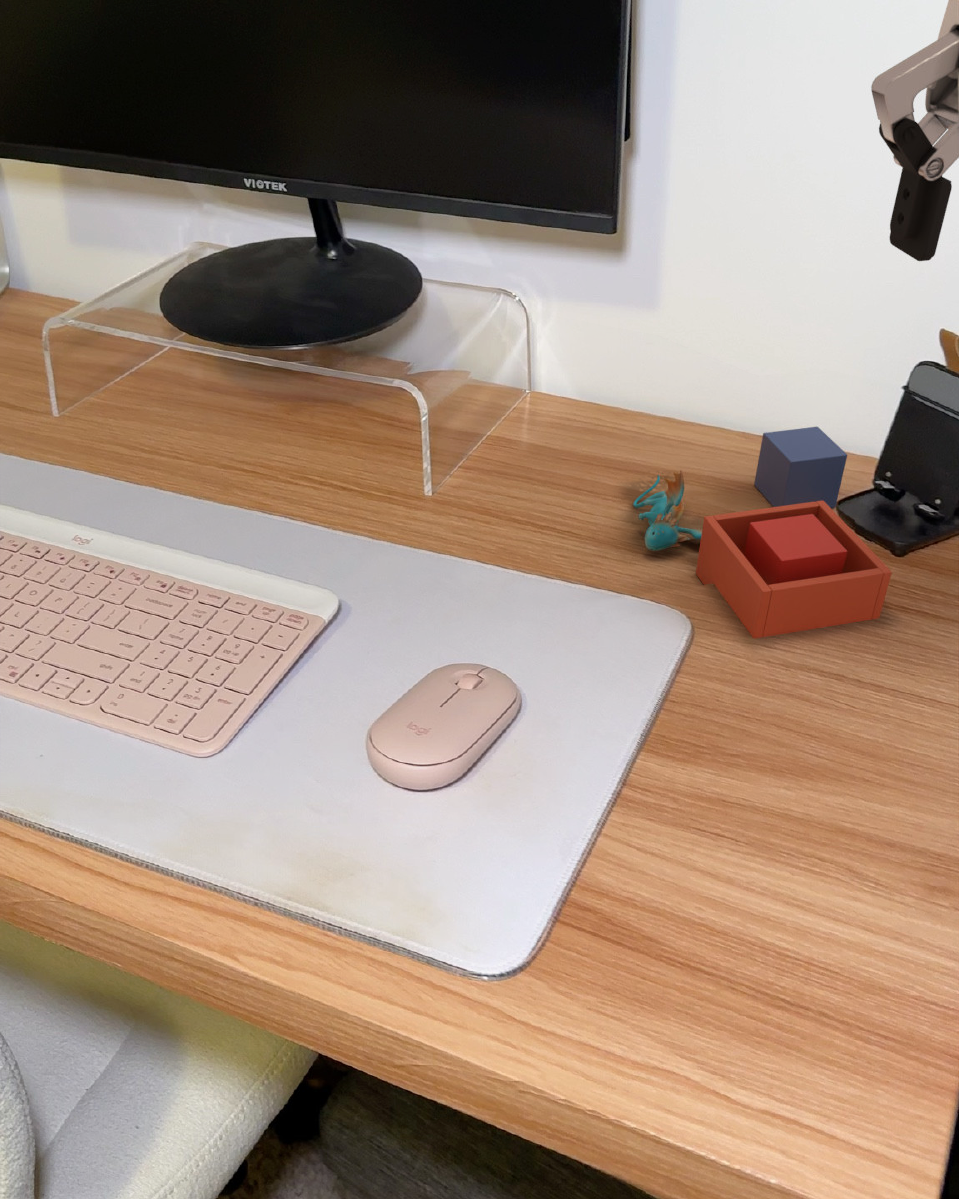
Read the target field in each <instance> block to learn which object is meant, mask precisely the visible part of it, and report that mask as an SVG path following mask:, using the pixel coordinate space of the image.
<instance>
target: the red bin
mask: <svg viewBox="0 0 959 1199" xmlns="http://www.w3.org/2000/svg"><path fill="white" fill-rule="evenodd" d="M809 514H813V515H814V516H815V517H816V518H817V519H818V520H819V521H820V522H821V523H822V524H823V525H824V527H825V528H826V529H827V530H828V531H829V532H830V533H831V534H832V535H833V536H834V537H835V538H836V539H837V541H838V542H839V543H840V544H841V545H842V546H843V547H844V548H845V549H846V550H847V554H846V558H845V562H844V566H843V570H842V574H837V575H830V576H824V577H817V578H810V579H804V580H797V581H791V582H784V583H778V584H771V585H767V584H766V583H765V582H764V580H763V579H762V578H761V576H760V575H759V574H758V573H757V571H756V570H755V569H754V568H753V566H752V565H751V564H750V563H749V561H748V560H747V559H746V558H745V556H744V554H745V548H746V543H747V537H748V532H749V526H750V523H751V522H758V521H765V520H773V519H780V518H787V517H794V516H801V515H809ZM701 530H702V536H701V539H700V542H699V549H698V556H697V563H696V569H695V574H696V576H697V577H698V579H699V580H700V582H701V583H702V584H703V585H704V586H707V585H712V584H713V585H714V586H715V588H716V589H717V590H718V592H719V593H720V595H721V596H722V597H723V599H724V600H725V601H726V603H727V604H728V605H729V607H730V608H731V610H732V611H733V613H735V615H736V616H737V618H738V619H739V620H740V622H741V623H742V624H743V626H744V627H745V629H746V630H747V631H748V633H749V634H750V635H751V637H752V638H753V639H760V638H766V637H772V636H777V635H783V634H789V633H795V632H802V631H809V630H814V629H821V628H828V627H833V626H840V625H845V624H852V623H857V622H864V621H870V620H876V619H880V616H881V614H882V611H883V610H882V609H883V605H884V602H885V598H886V595H887V592H888V588H889V584H890V581H891V577H892V573H893V571H892V570H891V569H890V568H889V567H888V566H887V564H885V563H884V562H883V561H882V560H881V559H880V558H879V557H878V556H877V555H876V553H875V552H873V550H872V549H871V548H870V547H869V546H868V545H867V544H866V543H865V542H864V540H862V539H861V538H860V537H859V536H858V535H857V534H856V533H855V532H854V530H853V529H852V528H850V527H849V525H848V524H846V522H845V521H844V520H843V519H842V518H841V517H840V516H839V515H838V514H837V513H836V511H834V510H833V508H830V507H829V506H828V505H827V504H826V503H825V502H824V501H823V500H822V501H816V502H807V503H800V504H793V505H786V506H778V507H773V506H771V507H764V508H758V509H757V508H756V509H751V510H750V509H749V510H742V511H736V512H728V513H720V514H714V515H706V516H704V517H703V523H702V529H701Z"/></svg>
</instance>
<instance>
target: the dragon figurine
mask: <svg viewBox="0 0 959 1199" xmlns="http://www.w3.org/2000/svg"><path fill="white" fill-rule="evenodd" d="M673 476H674V480H675V481H673V480H670V479H668V478H665V477H664V481H665V482H666V484H667V490H661V491H658V492H656V493H653V494H652V495H650V496H648V497H646V498H645V499H644V500H642V499H643V498H644V497H645V496H646V495H647V494H649V493H650V492H651V491H653V490H654V489H655V488H656V487H657V486H658V484H659V483H660V481H661V477H660V475H659V474H657V478H656V480H655V482H654V483H653V484H652V486H650V487H649V488H647V489H646V490H645V491H644V492H643V493H642V494H640V495H639V496H638V497H637V498H635V500H634V501H633V504H632V507H634V508H636V509H640V508H643V507H646V506H651V509H650V510H649V511H645V512H643V513H641V512H640V513H639V515H637V517H638V520H641V521H644V519H647V521H648V525H649V526H647V529H646V531H645V533H644V546H645V547H646V549H648V550H649V551H653V552H657V551H664V550H665V549H668V548H674V547H675V548H677V547H678V548H679V547H682V545H681V544H680V543H682V542H684V541H689V540H691V538H689V537H687V535H690V536H692V538H693V539H694V540H701V536H702V529H695V528H688V527H681V526H678V525H677V524H678V523H679V520H680V519H681V518H682V516H683V514H684V512H685V502H684V500H683V496H684V494H685V493H684V492H685V479H684V478H685V477H684V473H683V471H682V470H680V472H679V473H677V472H673ZM640 500H642V501H640ZM638 502H639V503H638ZM680 533H682V534H680ZM686 534H687V535H686Z"/></svg>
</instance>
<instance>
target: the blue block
mask: <svg viewBox="0 0 959 1199" xmlns="http://www.w3.org/2000/svg"><path fill="white" fill-rule="evenodd" d="M847 458H848V454H847V452H845V451H844V450H843V449H842V448H841V447H840V446H839V445H838V444H837V443H836V442H835V441H834V440H833V439H831V437H830V436H828V435H827V434H826V433H825V432H824V431H823V430H822V429H821V428H820V427H819V426H810V427H801V428H794V429H786V430H777V431H770V432H763V433H762V438H761V444H760V449H759V454H758V459H757V466H756V472H755V477H754V483H753V484H754V485H753V486H754V487H755V488H756V489H757V490H758V491H759V493H760V494H762V496H763V497H764V498H765V499H766V500H767V501H768V502H769V504H770V505H771V507H778V506H786V505H793V504H800V503H807V502H816V501H822V500H823V501H824V502H825V503H826V504H827V505H828V506H829V507H830V508H831V509H834V508H836V507H837V503H838V498H839V493H840V489H841V485H842V480H843V476H844V471H845V468H846V463H847Z"/></svg>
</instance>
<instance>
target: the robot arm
mask: <svg viewBox="0 0 959 1199" xmlns="http://www.w3.org/2000/svg"><path fill="white" fill-rule="evenodd" d="M870 88H871V89H870V90H871V94H872V99H873V103H874V107H875V111H876V116H877V119H878V120H879V126H878V133H879V136H880V137H881V138H882V140H883V141H884V143H885V144H886V146H887V147H888V149H889V150H890V152H891V154H892V155H893V161H894V163H895V164H896V165H897V166H899V167H901V168H902V169H901V174H900V178H899V182H898V185H897V186H898V187H897V191H896V196H895V200H894V204H893V209H892V212H891V217H890V223H889V230H890V233H889V242H890V244H891V246H893V247H894V248H897V250H898V251H899V250H900V251H901V252H902V253H904V254H906V255H907V256H909V257H911V258H912V259H914V260H915V261H918V262H927V261H930V260H932V258H933V257H935V255H936V251H937V248H938V244H939V239H940V237H941V236H940V235H941V233H942V228H943V224H944V221H945V216H946V212H947V208H948V205H949V201H950V196H951V192H952V188H953V187H952V186H953V185H952V180H950V179H948V178H946V177H944V176H943V175H944V174H945V173H946V172H947V171H948V170H949V169H950V168H951V167H952V165H953V164H955V162H956V161H957V159H959V0H948V1H947V5H946V8H945V12H944V14H943V18H942V22H941V24H940V29H939V33H938V36H937V39H936V40H935V41H933V42H932V43H930V44H928V45H927V46H925V47H924V48H922V49H920V50H919V51H917V52H915V53H913V54H912V55H910V56H908V57H907V58H905V59H903V60H902V61H900V62H898V63H896V64H894V65H893V66H892V67H889V68H888V69H887V70H885V71H883V72H882V73H880V74H878V75H876V77H875V78H874V79H873V81H872V83H871V86H870ZM925 89H926V91H925V101H924V102H925V111H926V112H927V113H926V114H925V115H924V116H923V117H922V118H921V119H920V120H919V121H918V122H917V121H916V120H915V116H914V113H915V109H914V102H915V98H916V97H917V96H918V94H919V93H920V92H922V91H924V90H925Z"/></svg>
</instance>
